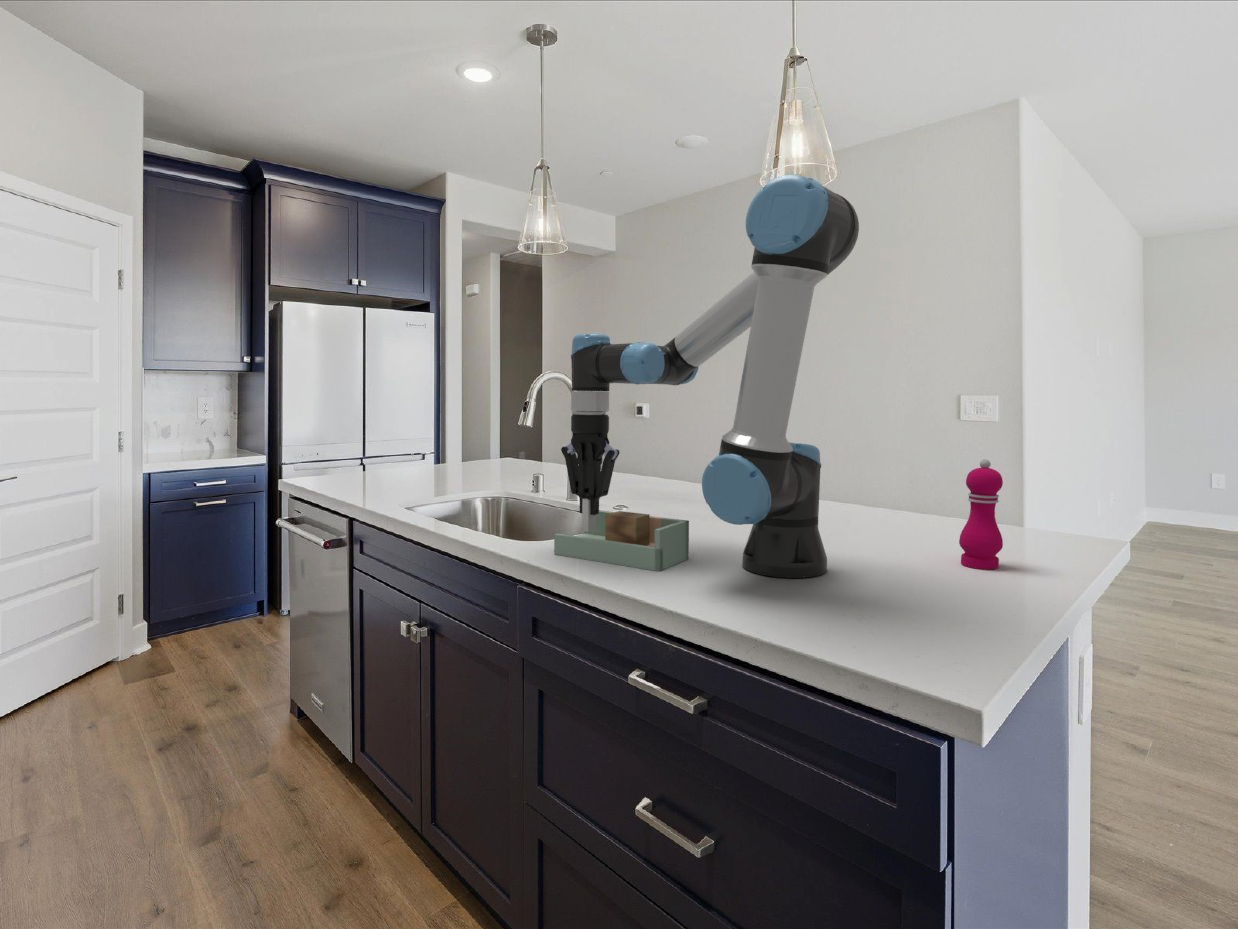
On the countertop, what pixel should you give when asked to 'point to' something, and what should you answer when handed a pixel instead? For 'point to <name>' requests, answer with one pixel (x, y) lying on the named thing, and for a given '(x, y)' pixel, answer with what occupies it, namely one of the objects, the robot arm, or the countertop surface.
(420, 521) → the countertop surface
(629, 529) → the block
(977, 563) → the pepper mill
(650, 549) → the green open tray
